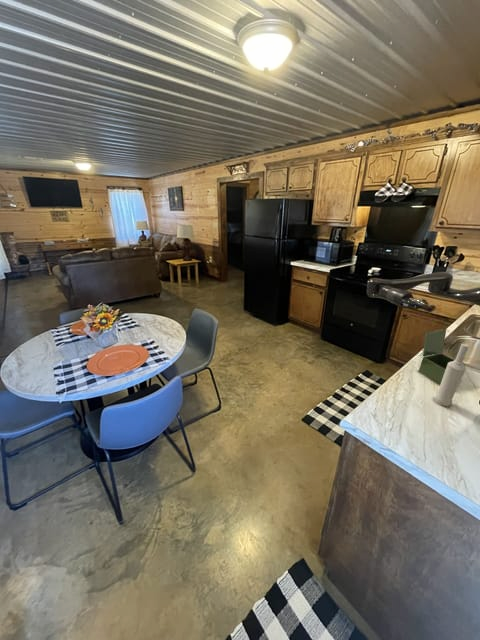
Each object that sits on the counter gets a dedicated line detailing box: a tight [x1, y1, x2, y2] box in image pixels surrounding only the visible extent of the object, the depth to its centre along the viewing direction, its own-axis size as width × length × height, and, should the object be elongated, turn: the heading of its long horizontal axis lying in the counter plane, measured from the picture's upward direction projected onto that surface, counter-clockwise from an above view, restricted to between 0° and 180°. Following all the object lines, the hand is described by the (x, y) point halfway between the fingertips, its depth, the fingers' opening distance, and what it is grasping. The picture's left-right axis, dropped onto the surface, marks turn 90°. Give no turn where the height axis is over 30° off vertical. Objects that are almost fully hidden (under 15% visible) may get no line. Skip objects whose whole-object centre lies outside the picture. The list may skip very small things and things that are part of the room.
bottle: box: [434, 343, 470, 407], centre depth 95 cm, size 5×5×25 cm
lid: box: [422, 328, 447, 358], centre depth 115 cm, size 11×11×1 cm
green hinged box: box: [418, 353, 466, 386], centre depth 114 cm, size 10×11×8 cm
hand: (431, 309), depth 114 cm, fingers closed
